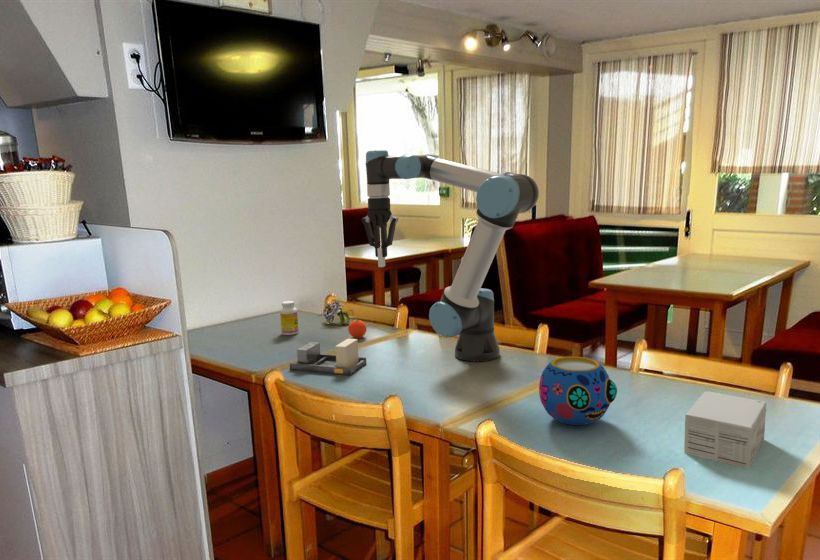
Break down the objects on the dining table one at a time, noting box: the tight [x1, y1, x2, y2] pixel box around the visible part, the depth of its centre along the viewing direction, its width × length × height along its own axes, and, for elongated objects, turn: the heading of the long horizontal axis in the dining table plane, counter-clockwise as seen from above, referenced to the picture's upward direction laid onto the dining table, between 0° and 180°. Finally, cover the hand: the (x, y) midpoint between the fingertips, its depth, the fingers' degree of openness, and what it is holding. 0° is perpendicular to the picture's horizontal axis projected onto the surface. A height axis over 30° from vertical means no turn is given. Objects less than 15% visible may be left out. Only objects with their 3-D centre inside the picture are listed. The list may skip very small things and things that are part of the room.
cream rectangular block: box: [335, 338, 359, 368], centre depth 201 cm, size 4×9×8 cm, turn 160°
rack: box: [289, 341, 367, 376], centre depth 204 cm, size 22×12×7 cm, turn 70°
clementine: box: [347, 319, 367, 339], centre depth 238 cm, size 8×7×7 cm
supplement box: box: [683, 390, 767, 469], centre depth 138 cm, size 17×13×9 cm
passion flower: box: [322, 299, 355, 325], centre depth 262 cm, size 11×11×12 cm
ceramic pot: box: [538, 356, 618, 426], centre depth 154 cm, size 18×18×15 cm
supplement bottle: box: [279, 300, 299, 336], centre depth 247 cm, size 7×7×13 cm
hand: (381, 266), depth 213 cm, fingers closed
